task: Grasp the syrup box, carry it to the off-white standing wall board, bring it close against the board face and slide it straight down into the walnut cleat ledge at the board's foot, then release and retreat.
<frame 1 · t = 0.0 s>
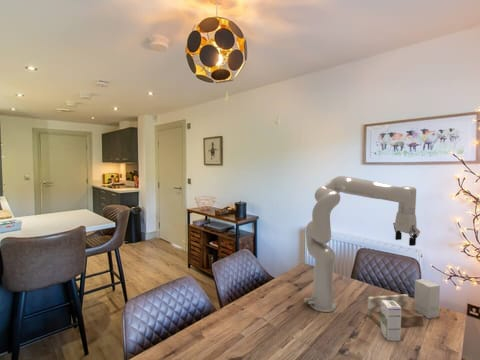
hand: (405, 242, 138), 31 cm above the table, fingers open, 9 cm apart
syrup box: (389, 336, 112), on the table
cleat board: (394, 320, 123), on the table
skincare box: (425, 313, 128), on the table
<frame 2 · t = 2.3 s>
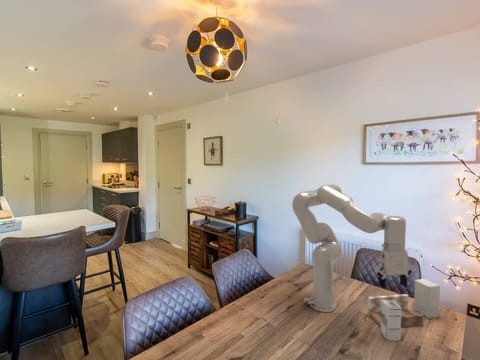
hand: (392, 286, 110), 22 cm above the table, fingers open, 9 cm apart
nothing on the table moved.
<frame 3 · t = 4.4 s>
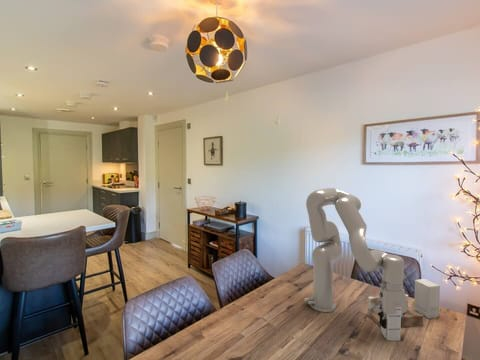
hand: (390, 325, 111), 5 cm above the table, fingers closed on syrup box, 6 cm apart
syrup box: (389, 336, 112), on the table, touching gripper
everything else where it was.
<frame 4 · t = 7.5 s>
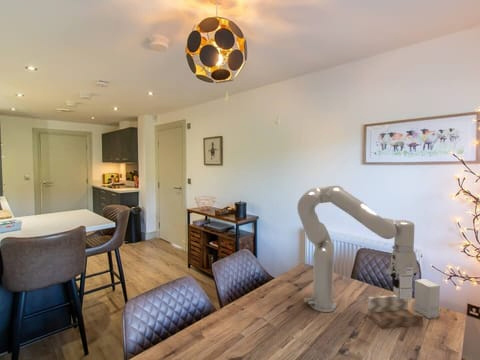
hand: (402, 285, 121), 17 cm above the table, fingers closed on syrup box, 6 cm apart
syrup box: (402, 296, 121), point 12 cm above the table, touching gripper
everything else where it was.
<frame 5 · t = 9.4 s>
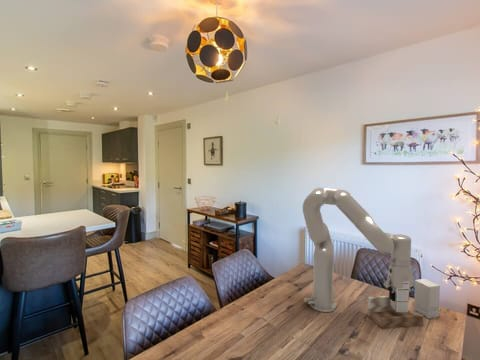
hand: (399, 299, 123), 10 cm above the table, fingers closed on syrup box, 6 cm apart
syrup box: (398, 309, 123), point 5 cm above the table, touching gripper
everything else where it was.
when the fingers open (7 cm above the table, at t = 10.8 s): syrup box stays where it is, resting on cleat board.
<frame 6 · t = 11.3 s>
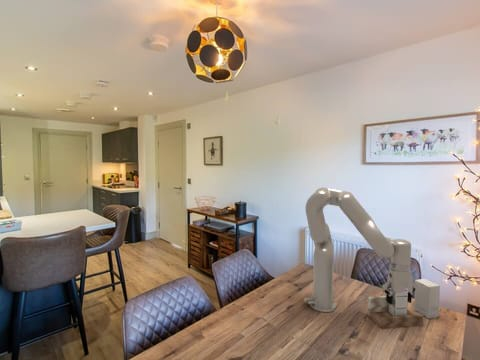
hand: (398, 302, 123), 8 cm above the table, fingers open, 9 cm apart
syrup box: (397, 315, 123), point 2 cm above the table, touching cleat board
everything else where it was.
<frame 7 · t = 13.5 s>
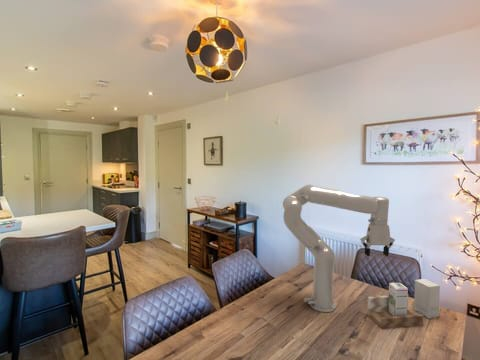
hand: (376, 255, 132), 27 cm above the table, fingers open, 9 cm apart
nothing on the table moved.
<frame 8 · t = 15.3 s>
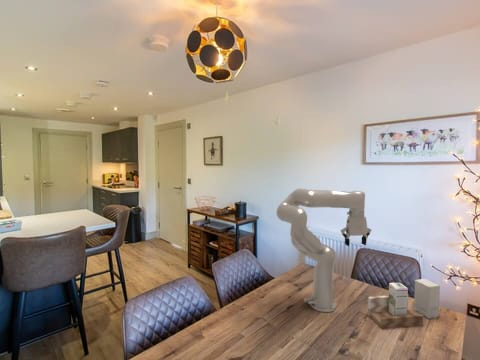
hand: (355, 244, 143), 28 cm above the table, fingers open, 9 cm apart
nothing on the table moved.
at the end: syrup box inside the target area on the cleat board (1.6 cm from its centre), point 1.8 cm above the cleat board's base; syrup box tilted 0°; the gripper is holding nothing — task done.
